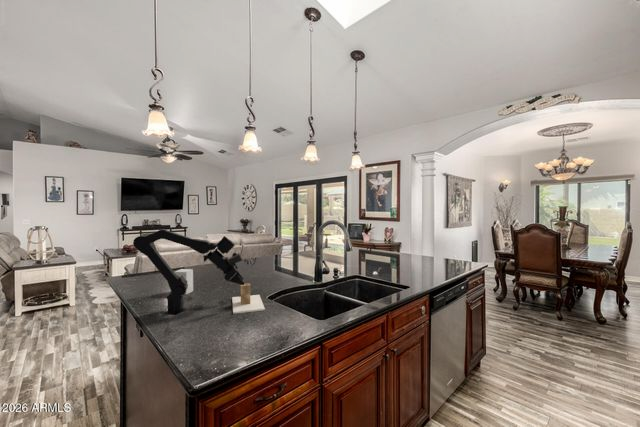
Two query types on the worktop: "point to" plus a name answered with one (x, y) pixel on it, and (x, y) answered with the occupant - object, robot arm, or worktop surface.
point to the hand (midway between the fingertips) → (243, 282)
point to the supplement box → (186, 278)
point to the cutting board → (253, 306)
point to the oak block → (245, 293)
